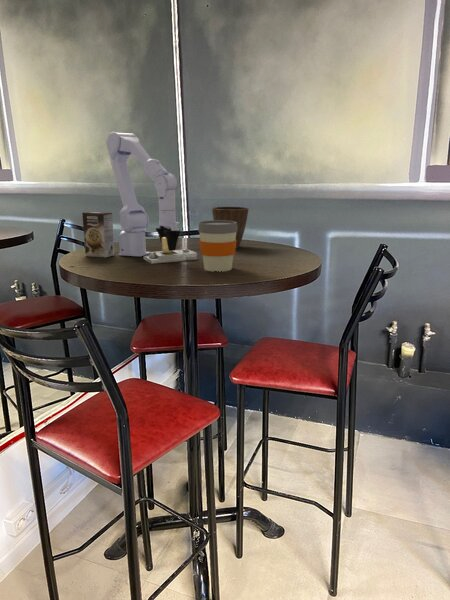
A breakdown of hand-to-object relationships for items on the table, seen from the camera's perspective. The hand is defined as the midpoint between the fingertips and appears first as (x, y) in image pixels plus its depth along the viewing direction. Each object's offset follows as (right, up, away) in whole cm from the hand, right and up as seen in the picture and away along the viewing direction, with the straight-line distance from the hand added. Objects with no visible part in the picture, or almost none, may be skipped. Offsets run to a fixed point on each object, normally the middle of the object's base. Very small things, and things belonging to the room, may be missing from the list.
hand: (168, 248), depth 167 cm
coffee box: (-27, -2, +9) cm, 28 cm away
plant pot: (+22, +3, +27) cm, 35 cm away
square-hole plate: (0, -4, +1) cm, 4 cm away
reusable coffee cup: (+18, -8, -14) cm, 24 cm away
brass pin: (0, -4, +1) cm, 4 cm away
